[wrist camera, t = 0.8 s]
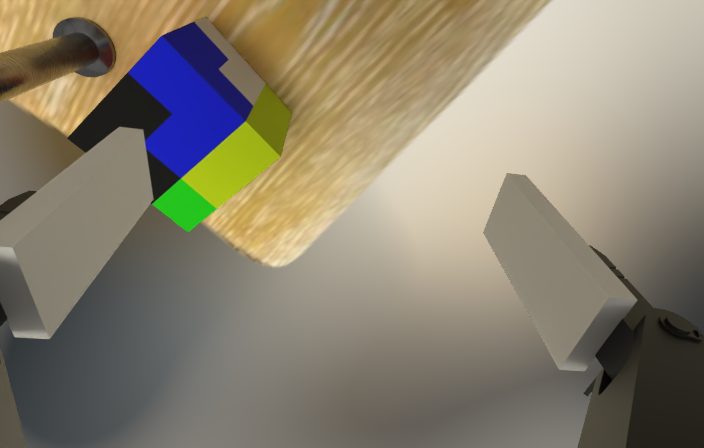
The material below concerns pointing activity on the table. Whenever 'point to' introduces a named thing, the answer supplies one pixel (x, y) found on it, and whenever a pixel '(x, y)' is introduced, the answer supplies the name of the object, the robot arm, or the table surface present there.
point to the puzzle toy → (194, 121)
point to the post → (57, 57)
